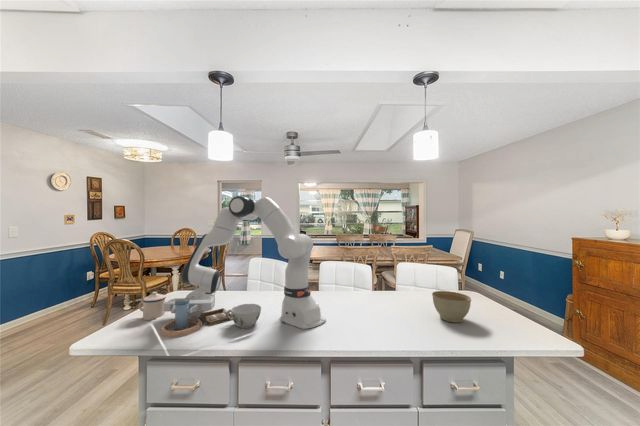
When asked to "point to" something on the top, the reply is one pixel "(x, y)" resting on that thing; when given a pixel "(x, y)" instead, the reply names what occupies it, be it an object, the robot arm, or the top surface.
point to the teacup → (245, 315)
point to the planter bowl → (451, 305)
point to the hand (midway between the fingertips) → (180, 311)
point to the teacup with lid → (152, 306)
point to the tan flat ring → (180, 332)
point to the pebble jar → (181, 314)
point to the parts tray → (207, 315)
